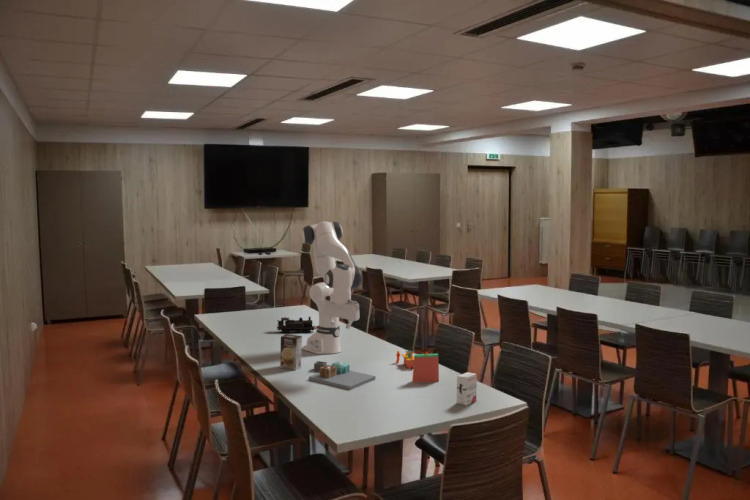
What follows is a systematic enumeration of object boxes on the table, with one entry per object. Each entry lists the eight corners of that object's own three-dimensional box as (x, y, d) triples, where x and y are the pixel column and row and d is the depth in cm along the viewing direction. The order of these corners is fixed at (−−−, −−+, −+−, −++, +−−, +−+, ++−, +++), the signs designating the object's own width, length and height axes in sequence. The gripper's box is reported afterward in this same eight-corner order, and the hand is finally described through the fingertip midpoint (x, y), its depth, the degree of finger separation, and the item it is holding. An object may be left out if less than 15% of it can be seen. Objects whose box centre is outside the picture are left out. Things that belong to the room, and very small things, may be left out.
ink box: (466, 398, 252) (467, 371, 251) (476, 401, 249) (477, 373, 248) (455, 403, 246) (456, 375, 245) (465, 406, 243) (467, 377, 242)
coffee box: (279, 368, 291) (279, 336, 290) (285, 365, 297) (285, 333, 296) (296, 370, 288) (296, 338, 287) (301, 367, 294) (302, 335, 293)
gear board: (308, 379, 273) (308, 368, 273) (335, 370, 290) (335, 359, 289) (350, 389, 260) (350, 377, 259) (375, 379, 277) (375, 367, 276)
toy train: (316, 333, 370) (316, 318, 369) (276, 334, 367) (276, 318, 366) (315, 331, 378) (316, 315, 377) (276, 331, 374) (276, 315, 373)
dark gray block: (314, 370, 288) (314, 363, 288) (317, 368, 293) (317, 361, 292) (323, 371, 287) (323, 364, 286) (326, 369, 291) (326, 362, 291)
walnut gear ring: (318, 376, 274) (318, 367, 274) (328, 372, 280) (328, 364, 280) (328, 378, 271) (328, 369, 271) (337, 374, 277) (337, 366, 277)
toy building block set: (413, 383, 273) (414, 353, 272) (393, 362, 307) (393, 336, 306) (438, 381, 276) (439, 352, 275) (416, 361, 310) (416, 335, 309)
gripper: (363, 300, 278) (361, 329, 280) (329, 294, 290) (328, 321, 291) (355, 302, 273) (353, 331, 275) (321, 296, 285) (320, 323, 286)
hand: (340, 326), depth 283 cm, fingers open, 8 cm apart
